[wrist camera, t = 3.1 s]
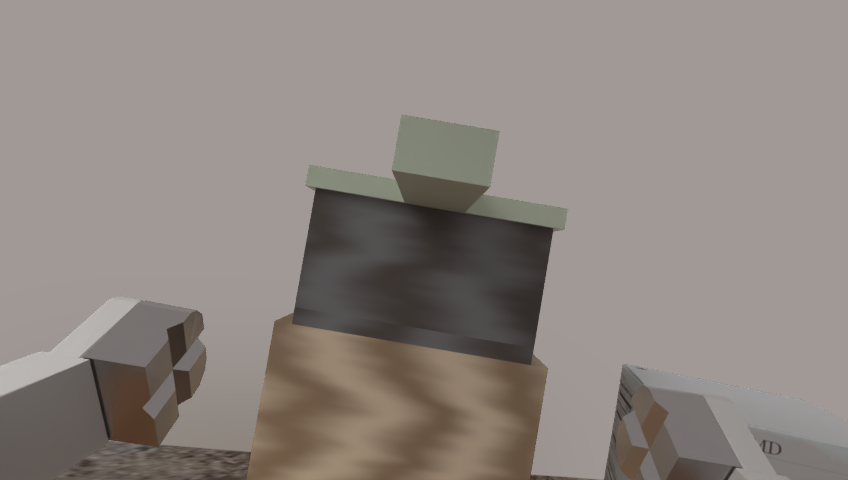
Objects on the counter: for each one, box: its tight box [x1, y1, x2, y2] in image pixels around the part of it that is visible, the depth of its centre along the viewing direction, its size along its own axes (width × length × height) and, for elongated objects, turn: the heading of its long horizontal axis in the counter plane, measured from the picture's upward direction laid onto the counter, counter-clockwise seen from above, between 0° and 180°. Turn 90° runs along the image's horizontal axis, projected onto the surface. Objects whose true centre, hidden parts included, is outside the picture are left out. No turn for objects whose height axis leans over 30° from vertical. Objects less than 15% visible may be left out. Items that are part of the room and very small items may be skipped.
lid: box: [306, 115, 567, 231], centre depth 31 cm, size 15×26×2 cm, turn 0°
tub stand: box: [246, 188, 553, 480], centre depth 36 cm, size 16×14×26 cm
